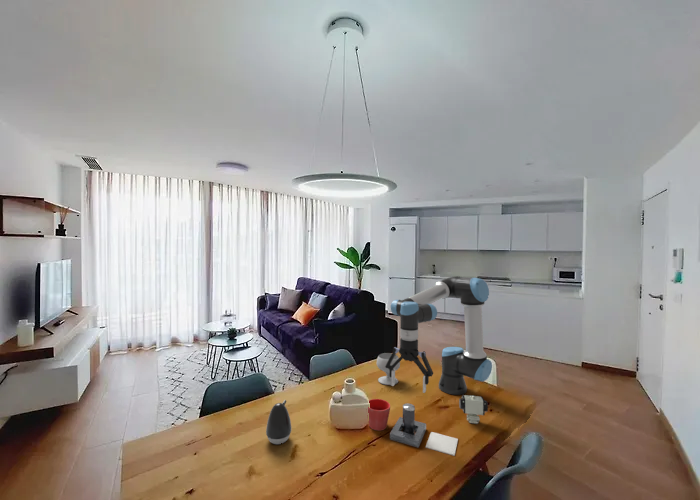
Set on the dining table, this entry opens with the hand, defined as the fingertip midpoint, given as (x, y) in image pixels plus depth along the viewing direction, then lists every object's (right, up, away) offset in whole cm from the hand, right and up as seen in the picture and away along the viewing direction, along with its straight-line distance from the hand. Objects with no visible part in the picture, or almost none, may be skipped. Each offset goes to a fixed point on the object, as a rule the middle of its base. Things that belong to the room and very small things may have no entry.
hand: (408, 388), depth 131 cm
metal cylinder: (0, -20, 0) cm, 20 cm away
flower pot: (-13, -20, +6) cm, 24 cm away
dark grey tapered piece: (-54, -20, -4) cm, 58 cm away
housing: (0, -20, 0) cm, 20 cm away
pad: (+13, -20, -6) cm, 24 cm away
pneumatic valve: (+32, -20, +10) cm, 39 cm away
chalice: (-2, -20, +52) cm, 56 cm away
